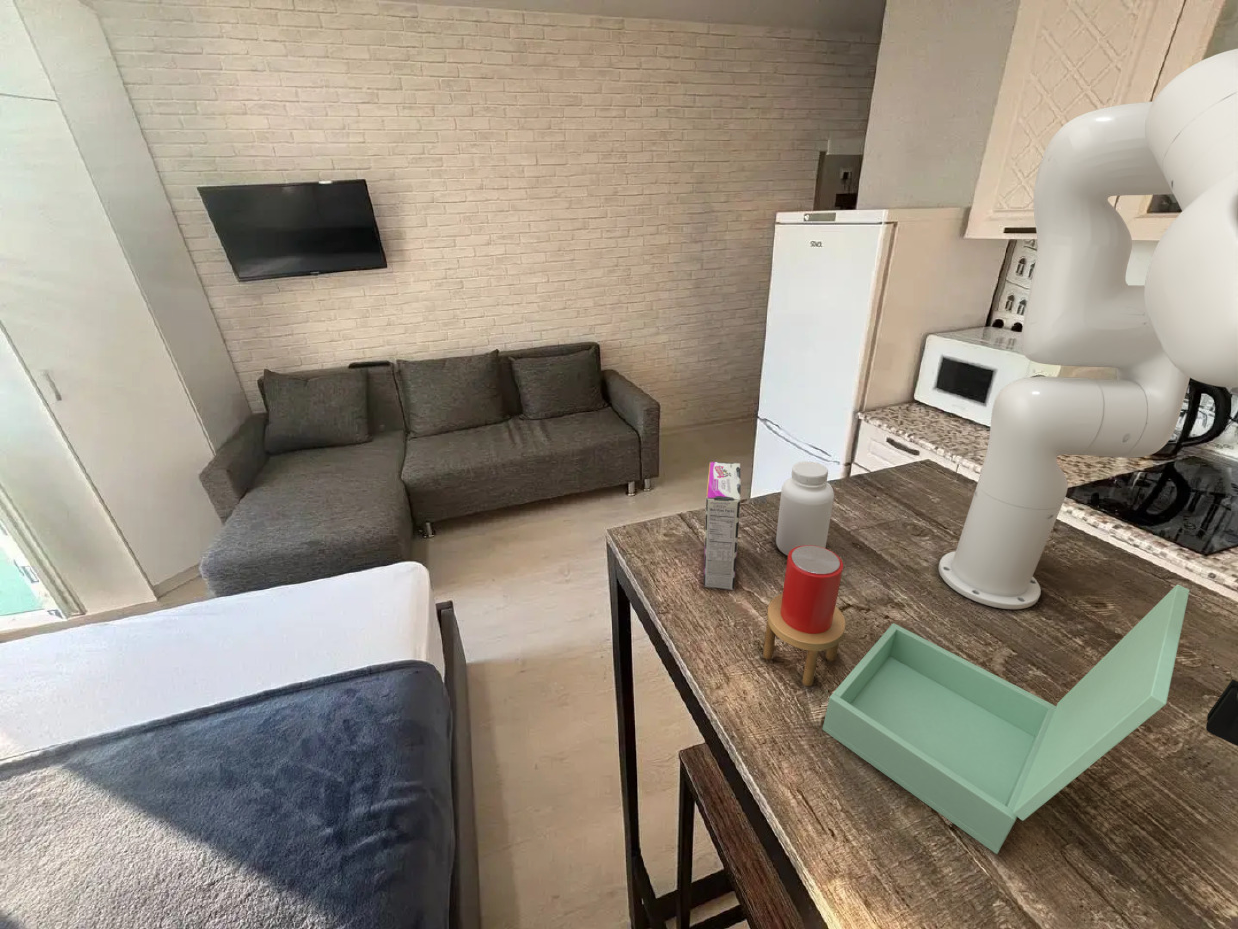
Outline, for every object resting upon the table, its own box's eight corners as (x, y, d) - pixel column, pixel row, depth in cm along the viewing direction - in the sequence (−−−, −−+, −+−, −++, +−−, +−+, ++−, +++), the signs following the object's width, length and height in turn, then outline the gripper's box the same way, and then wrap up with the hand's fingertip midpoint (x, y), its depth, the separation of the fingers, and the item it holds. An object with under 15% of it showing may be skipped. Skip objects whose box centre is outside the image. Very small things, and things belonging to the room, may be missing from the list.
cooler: (822, 729, 56) (829, 697, 54) (884, 653, 65) (893, 622, 63) (996, 855, 45) (1015, 820, 43) (1043, 742, 54) (1060, 708, 52)
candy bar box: (705, 545, 87) (708, 460, 80) (734, 548, 86) (741, 462, 79) (701, 588, 78) (705, 496, 70) (734, 592, 77) (742, 498, 69)
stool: (787, 620, 71) (793, 581, 68) (849, 657, 65) (859, 616, 62) (748, 655, 66) (753, 614, 63) (812, 699, 60) (821, 656, 57)
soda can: (797, 592, 66) (805, 537, 62) (841, 616, 62) (853, 559, 58) (770, 615, 63) (777, 558, 59) (815, 642, 58) (826, 583, 55)
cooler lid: (1150, 695, 33) (1166, 704, 32) (1177, 583, 42) (1190, 589, 41) (1012, 813, 43) (1022, 821, 42) (1057, 702, 52) (1067, 708, 51)
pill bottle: (768, 535, 89) (776, 459, 83) (812, 531, 90) (824, 455, 83) (785, 563, 82) (796, 482, 76) (833, 559, 83) (848, 478, 76)
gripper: (1587, 624, 21) (1329, 865, 29) (1494, 496, 30) (1315, 709, 38) (1302, 548, 26) (1150, 771, 34) (1294, 458, 35) (1174, 652, 43)
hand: (1237, 738), depth 36 cm, fingers closed
